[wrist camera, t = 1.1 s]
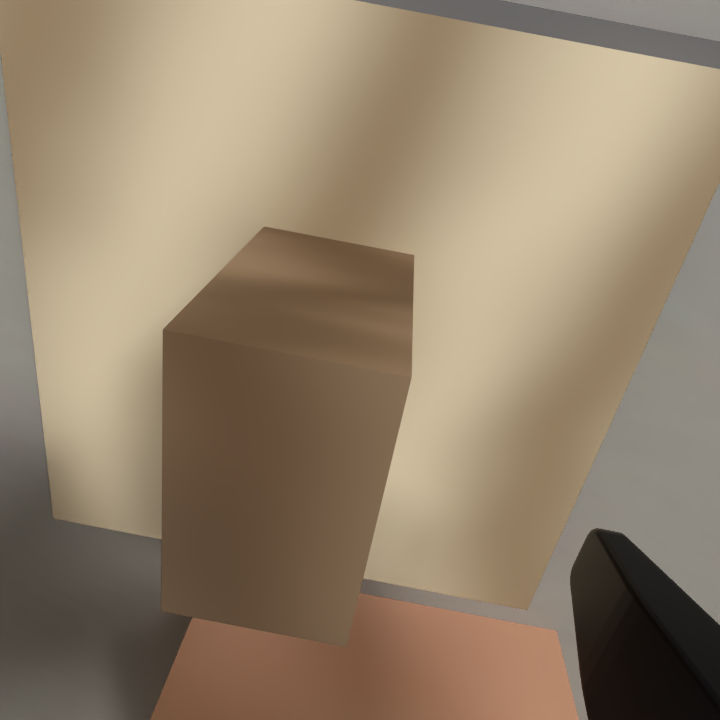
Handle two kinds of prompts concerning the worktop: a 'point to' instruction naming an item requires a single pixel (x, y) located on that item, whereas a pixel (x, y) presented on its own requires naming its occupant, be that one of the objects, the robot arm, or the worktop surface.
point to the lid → (339, 285)
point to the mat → (570, 28)
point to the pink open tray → (372, 670)
